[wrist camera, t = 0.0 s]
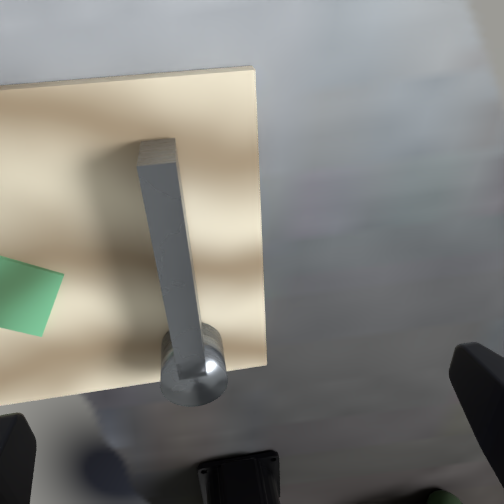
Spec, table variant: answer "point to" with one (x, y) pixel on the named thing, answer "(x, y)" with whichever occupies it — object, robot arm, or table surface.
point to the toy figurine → (442, 498)
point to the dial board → (122, 226)
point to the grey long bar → (178, 284)
